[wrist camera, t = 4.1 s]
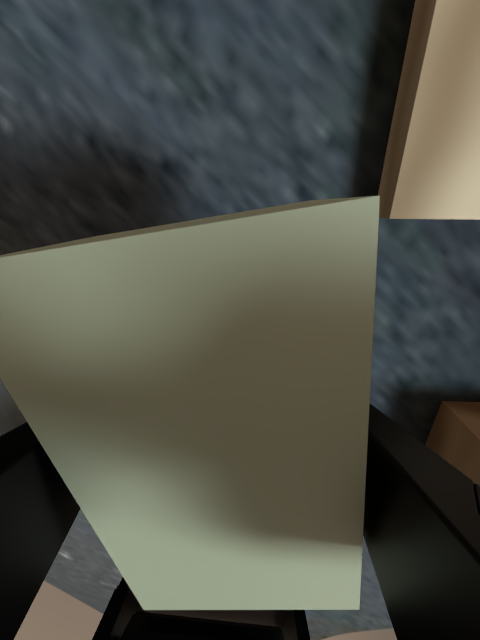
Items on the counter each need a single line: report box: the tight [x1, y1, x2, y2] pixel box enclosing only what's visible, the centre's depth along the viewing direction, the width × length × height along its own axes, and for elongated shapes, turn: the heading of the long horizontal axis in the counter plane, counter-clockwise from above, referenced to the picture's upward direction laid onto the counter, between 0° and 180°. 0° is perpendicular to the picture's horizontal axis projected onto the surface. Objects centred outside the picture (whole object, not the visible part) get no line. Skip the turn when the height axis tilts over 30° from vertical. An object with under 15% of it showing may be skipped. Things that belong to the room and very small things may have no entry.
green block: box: [0, 195, 380, 610], centre depth 7 cm, size 6×10×4 cm, turn 9°
